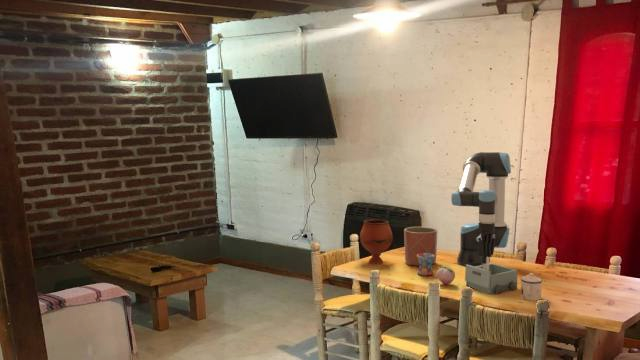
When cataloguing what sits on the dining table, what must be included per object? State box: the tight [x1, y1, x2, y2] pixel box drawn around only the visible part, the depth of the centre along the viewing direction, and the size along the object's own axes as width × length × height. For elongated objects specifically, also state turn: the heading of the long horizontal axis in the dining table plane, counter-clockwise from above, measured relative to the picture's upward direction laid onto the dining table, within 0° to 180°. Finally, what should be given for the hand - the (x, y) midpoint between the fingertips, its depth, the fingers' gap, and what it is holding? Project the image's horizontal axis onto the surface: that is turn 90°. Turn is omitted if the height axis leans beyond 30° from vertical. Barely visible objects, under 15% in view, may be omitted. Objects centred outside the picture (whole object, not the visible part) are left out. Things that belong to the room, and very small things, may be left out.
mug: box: [416, 253, 434, 277], centre depth 283 cm, size 12×9×11 cm
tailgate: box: [464, 265, 491, 288], centre depth 253 cm, size 2×15×8 cm, turn 30°
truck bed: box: [465, 262, 518, 295], centre depth 258 cm, size 18×19×9 cm
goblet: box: [359, 218, 394, 265], centre depth 307 cm, size 19×19×25 cm
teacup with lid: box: [520, 272, 543, 302], centre depth 240 cm, size 12×9×12 cm
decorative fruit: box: [435, 265, 456, 285], centre depth 263 cm, size 9×8×10 cm
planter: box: [403, 226, 438, 267], centre depth 305 cm, size 19×19×20 cm
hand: (485, 269), depth 256 cm, fingers closed
